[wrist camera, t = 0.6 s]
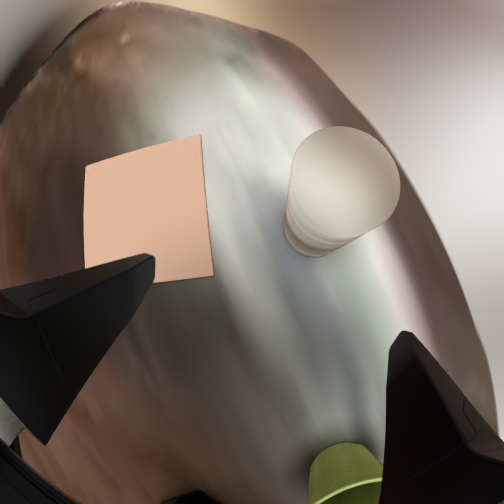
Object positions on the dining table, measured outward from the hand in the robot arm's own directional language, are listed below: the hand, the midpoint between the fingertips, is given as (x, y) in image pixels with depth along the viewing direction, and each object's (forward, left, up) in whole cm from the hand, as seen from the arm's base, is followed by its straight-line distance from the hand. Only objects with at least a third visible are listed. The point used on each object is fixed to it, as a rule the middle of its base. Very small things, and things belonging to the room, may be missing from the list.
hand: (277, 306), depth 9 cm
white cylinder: (+6, +2, -14) cm, 15 cm away
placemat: (-6, +13, -14) cm, 20 cm away
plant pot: (-5, -18, -14) cm, 24 cm away
